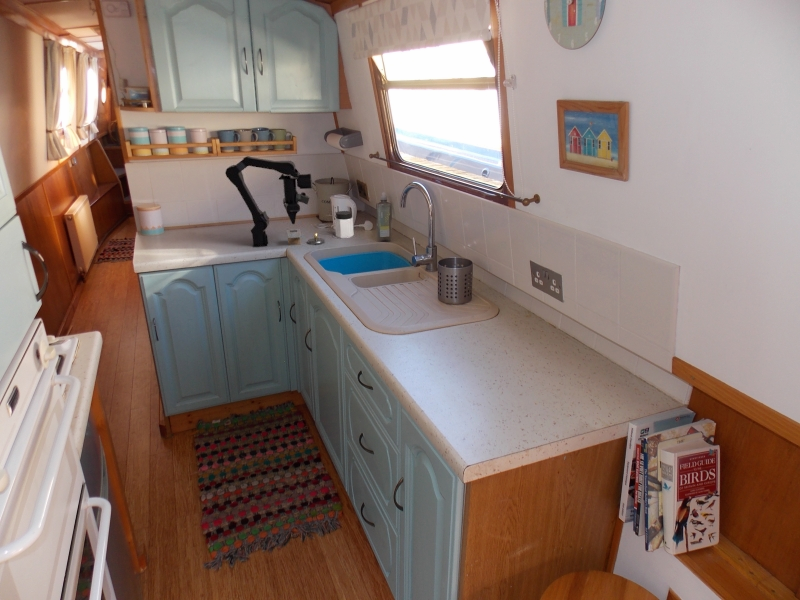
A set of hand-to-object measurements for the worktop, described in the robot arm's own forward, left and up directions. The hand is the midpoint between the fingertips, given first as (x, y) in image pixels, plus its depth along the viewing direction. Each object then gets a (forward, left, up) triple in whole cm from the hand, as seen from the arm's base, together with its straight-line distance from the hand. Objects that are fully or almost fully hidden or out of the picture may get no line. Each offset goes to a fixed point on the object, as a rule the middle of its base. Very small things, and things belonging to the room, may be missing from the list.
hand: (292, 221), depth 268 cm
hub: (+11, -1, -11) cm, 15 cm away
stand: (0, 0, -11) cm, 11 cm away
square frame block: (0, 0, -7) cm, 7 cm away
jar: (+26, +7, -11) cm, 29 cm away
